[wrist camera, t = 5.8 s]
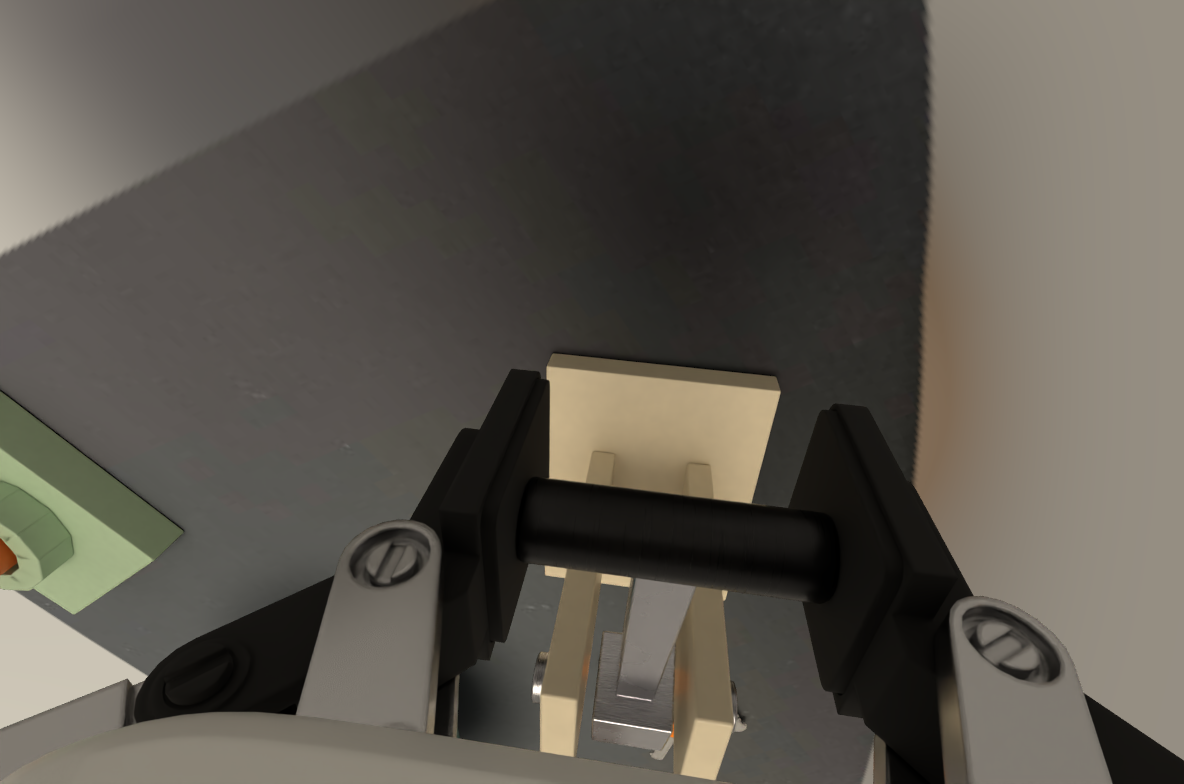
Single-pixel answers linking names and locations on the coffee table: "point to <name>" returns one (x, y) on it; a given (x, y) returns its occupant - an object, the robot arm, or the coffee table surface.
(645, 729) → the lever
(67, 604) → the button block
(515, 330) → the coffee table surface
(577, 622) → the bracket
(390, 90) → the coffee table surface
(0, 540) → the button
